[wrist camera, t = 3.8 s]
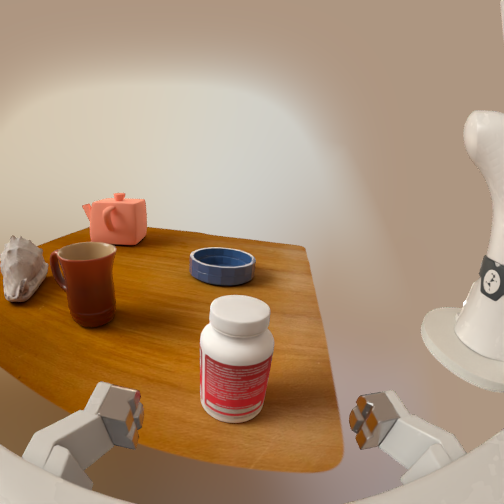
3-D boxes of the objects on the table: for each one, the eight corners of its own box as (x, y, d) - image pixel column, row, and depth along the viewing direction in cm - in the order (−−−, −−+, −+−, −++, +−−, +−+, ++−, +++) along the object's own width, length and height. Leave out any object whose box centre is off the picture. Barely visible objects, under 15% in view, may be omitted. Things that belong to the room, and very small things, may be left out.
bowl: (251, 266, 64) (253, 250, 63) (255, 290, 51) (258, 270, 50) (194, 261, 63) (195, 245, 62) (185, 284, 50) (185, 264, 49)
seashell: (10, 310, 29) (-2, 250, 26) (-2, 283, 35) (-9, 234, 33) (66, 291, 39) (60, 236, 37) (44, 270, 46) (39, 224, 43)
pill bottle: (274, 413, 23) (296, 318, 20) (216, 433, 20) (220, 335, 17) (243, 376, 28) (254, 286, 25) (191, 389, 25) (190, 294, 22)
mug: (131, 310, 38) (127, 245, 35) (102, 339, 30) (91, 264, 27) (74, 295, 39) (68, 237, 36) (43, 317, 30) (31, 252, 28)
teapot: (151, 233, 85) (152, 190, 81) (131, 252, 64) (131, 197, 60) (98, 230, 82) (98, 189, 78) (67, 248, 61) (65, 196, 57)
